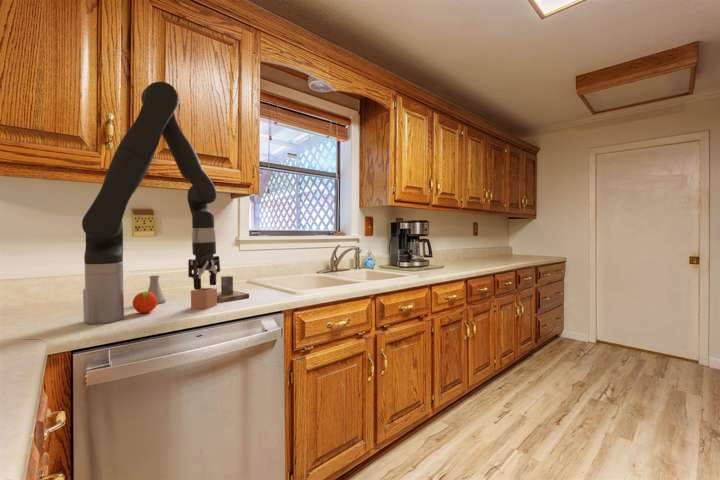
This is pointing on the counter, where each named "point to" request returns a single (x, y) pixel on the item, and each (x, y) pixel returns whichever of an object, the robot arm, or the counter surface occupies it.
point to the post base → (231, 297)
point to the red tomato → (144, 302)
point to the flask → (156, 289)
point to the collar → (204, 298)
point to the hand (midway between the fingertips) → (205, 287)
